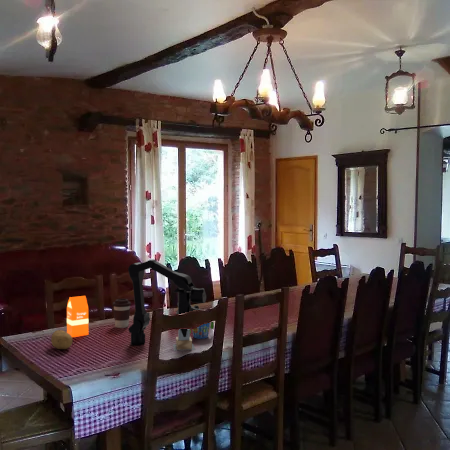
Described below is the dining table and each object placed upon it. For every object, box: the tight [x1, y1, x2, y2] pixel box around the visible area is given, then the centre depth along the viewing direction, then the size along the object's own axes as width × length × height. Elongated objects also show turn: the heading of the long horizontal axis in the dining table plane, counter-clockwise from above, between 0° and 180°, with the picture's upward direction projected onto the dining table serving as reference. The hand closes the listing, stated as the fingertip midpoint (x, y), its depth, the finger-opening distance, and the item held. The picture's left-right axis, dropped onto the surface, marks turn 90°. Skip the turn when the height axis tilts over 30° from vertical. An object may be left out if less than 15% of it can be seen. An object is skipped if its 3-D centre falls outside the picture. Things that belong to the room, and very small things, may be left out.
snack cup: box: [190, 321, 215, 340], centre depth 260 cm, size 16×10×10 cm
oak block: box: [175, 336, 193, 350], centre depth 241 cm, size 7×7×4 cm
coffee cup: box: [112, 298, 132, 329], centre depth 281 cm, size 10×10×15 cm
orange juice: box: [66, 295, 89, 338], centre depth 263 cm, size 8×9×20 cm
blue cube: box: [177, 329, 191, 340], centre depth 241 cm, size 5×5×5 cm
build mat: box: [172, 343, 196, 352], centre depth 241 cm, size 10×10×1 cm
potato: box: [50, 329, 73, 350], centre depth 238 cm, size 10×14×8 cm
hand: (183, 334), depth 241 cm, fingers open, 9 cm apart
